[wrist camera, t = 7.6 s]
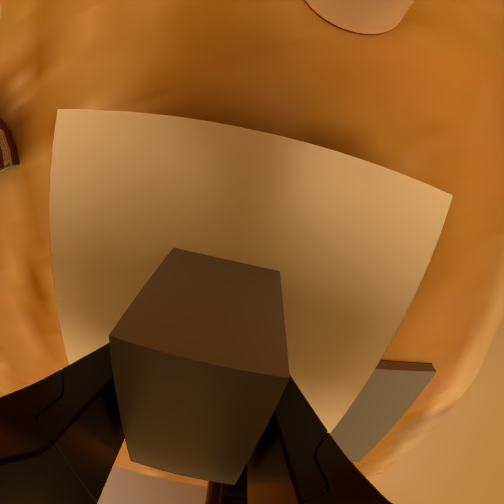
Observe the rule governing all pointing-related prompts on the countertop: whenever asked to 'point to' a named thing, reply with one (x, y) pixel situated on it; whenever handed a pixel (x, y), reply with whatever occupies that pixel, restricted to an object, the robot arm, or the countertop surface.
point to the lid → (227, 275)
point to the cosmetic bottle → (362, 13)
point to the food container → (7, 149)
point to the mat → (380, 405)
